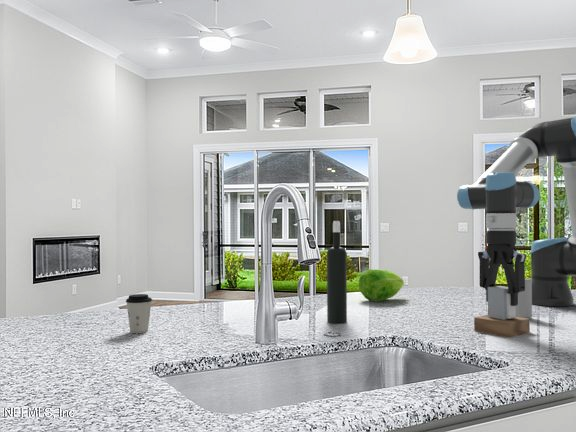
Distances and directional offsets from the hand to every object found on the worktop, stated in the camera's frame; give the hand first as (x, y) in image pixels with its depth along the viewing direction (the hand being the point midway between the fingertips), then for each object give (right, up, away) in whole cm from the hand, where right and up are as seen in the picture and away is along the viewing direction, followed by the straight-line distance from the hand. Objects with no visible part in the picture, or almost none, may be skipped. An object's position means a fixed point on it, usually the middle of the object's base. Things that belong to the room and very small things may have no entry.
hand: (501, 315), depth 139 cm
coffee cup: (-98, -5, +1) cm, 98 cm away
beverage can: (+14, -4, +19) cm, 24 cm away
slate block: (0, 0, 0) cm, 0 cm away
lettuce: (-22, -5, +55) cm, 59 cm away
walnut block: (0, -5, 0) cm, 5 cm away
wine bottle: (-43, -5, +14) cm, 46 cm away
